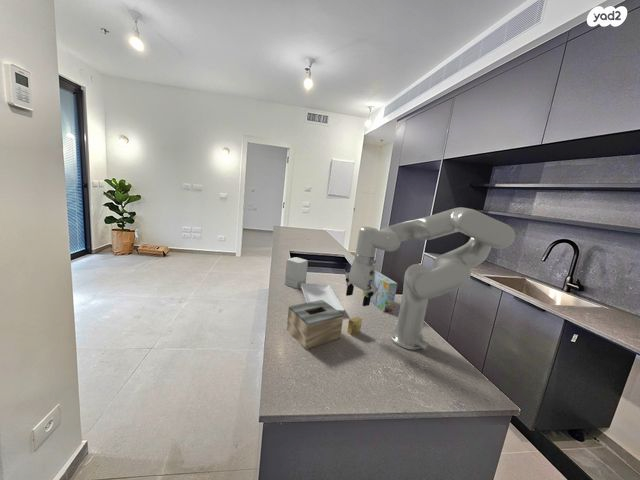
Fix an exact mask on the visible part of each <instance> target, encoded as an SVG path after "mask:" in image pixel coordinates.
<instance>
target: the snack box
mask: <svg viewBox="0 0 640 480" xmlns="http://www.w3.org/2000/svg"><path fill="white" fill-rule="evenodd" d="M374 284H375V286H376V287H377V288H378V291H377V292H376V293H375V295H373V296H371V299H370V303H371V302H372V304H374V306H376V307H378V308H379V309H380V310H381V311H383V312H385V313H386V312H393V309H394V304H395V299H396V295H397V294H396V293H397V288H398V285H399V283H397V282H396V281H394V280H393V279H391V278H389V277H388V276H386V275H384V274H383V273H381V272H379V271H378V270H376V269H375V281H374ZM371 291H372V289H371ZM367 292H368V290H367ZM368 293H369V292H368ZM362 296H363V297H364V296H365V293H364V290H362Z"/></svg>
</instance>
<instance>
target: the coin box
mask: <svg viewBox="0 0 640 480" xmlns="http://www.w3.org/2000/svg"><path fill="white" fill-rule="evenodd" d="M343 321H344V314H343V312H339V311H338V310H336V309H335V308H333V307H332V306H330V305H329V304H328V303H326V302H325V301H323V300H319V301H313V302H308V303H307V302H304V303H299V304H293V305H289V306H288V312H287V321H286V322H287V324H286V331H288V333H289V334H290V335H291V336H292V337H293V338H294V339H295V340H296V341H297V342H298V343H299V345H301V346H302V347H303V348H304V350H308V349H310V347H311V348H314V347H317V345H318V346H321V345H323V344H327V343H329V342H333V341H336V340H340V339H341V335H342V328H343ZM320 344H321V345H320ZM313 346H314V347H313ZM307 348H308V349H307Z"/></svg>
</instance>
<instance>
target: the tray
mask: <svg viewBox="0 0 640 480" xmlns="http://www.w3.org/2000/svg"><path fill="white" fill-rule="evenodd" d="M300 288H301V290H302V293H303V296H304V299H305V301H306V302H305V303H308V302H313V301H319V300H323V301H325V302H326V303H328V304H329V305H330V306H332V307H333V308H335V309H336V310H338V311H339V312H340V313H343V312H345V311H346V309H345V308H344V306H343V304H342V303H341V301H340V300H339V298H338V296H337V295H336V294H335V291H334V290H333V288H332V286H331V285H329V284H326V283H325V284H322V283H320V284H319V283H306V284H305V283H301V287H300Z"/></svg>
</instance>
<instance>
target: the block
mask: <svg viewBox="0 0 640 480" xmlns="http://www.w3.org/2000/svg"><path fill="white" fill-rule="evenodd" d="M362 322H363V318H361V317H359V316H356V317H352V318H349V320H348V327H347V334H349V335H350V336H352V335H356V334H359V333H361V329H362V328H361V327H362Z"/></svg>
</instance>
